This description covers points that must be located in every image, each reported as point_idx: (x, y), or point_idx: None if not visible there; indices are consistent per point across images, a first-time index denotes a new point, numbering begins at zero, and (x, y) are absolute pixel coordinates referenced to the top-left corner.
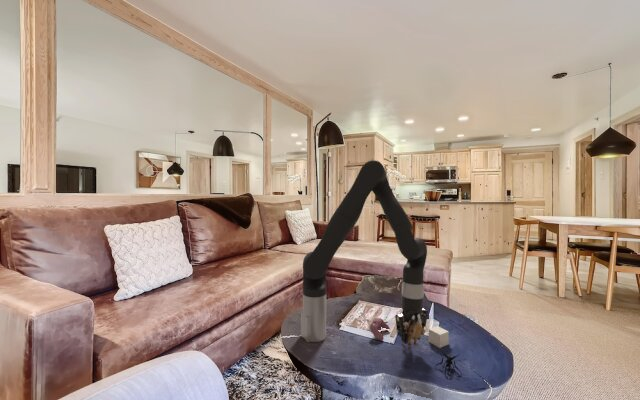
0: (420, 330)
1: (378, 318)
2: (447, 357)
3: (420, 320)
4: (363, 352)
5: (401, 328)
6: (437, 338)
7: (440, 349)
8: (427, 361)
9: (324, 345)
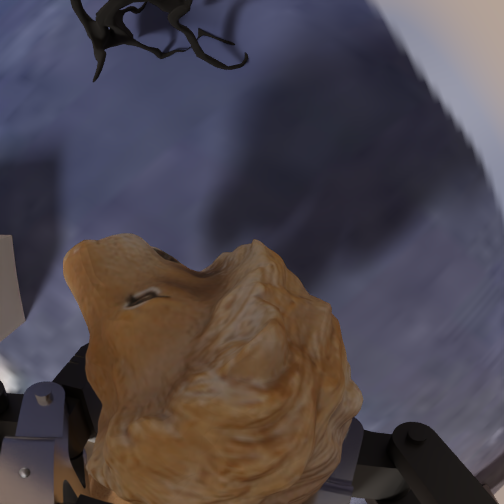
0: (261, 282)
1: None
2: (101, 43)
3: (8, 483)
4: (443, 413)
5: (462, 466)
6: None
7: (96, 71)
8: (210, 156)
9: (475, 471)
